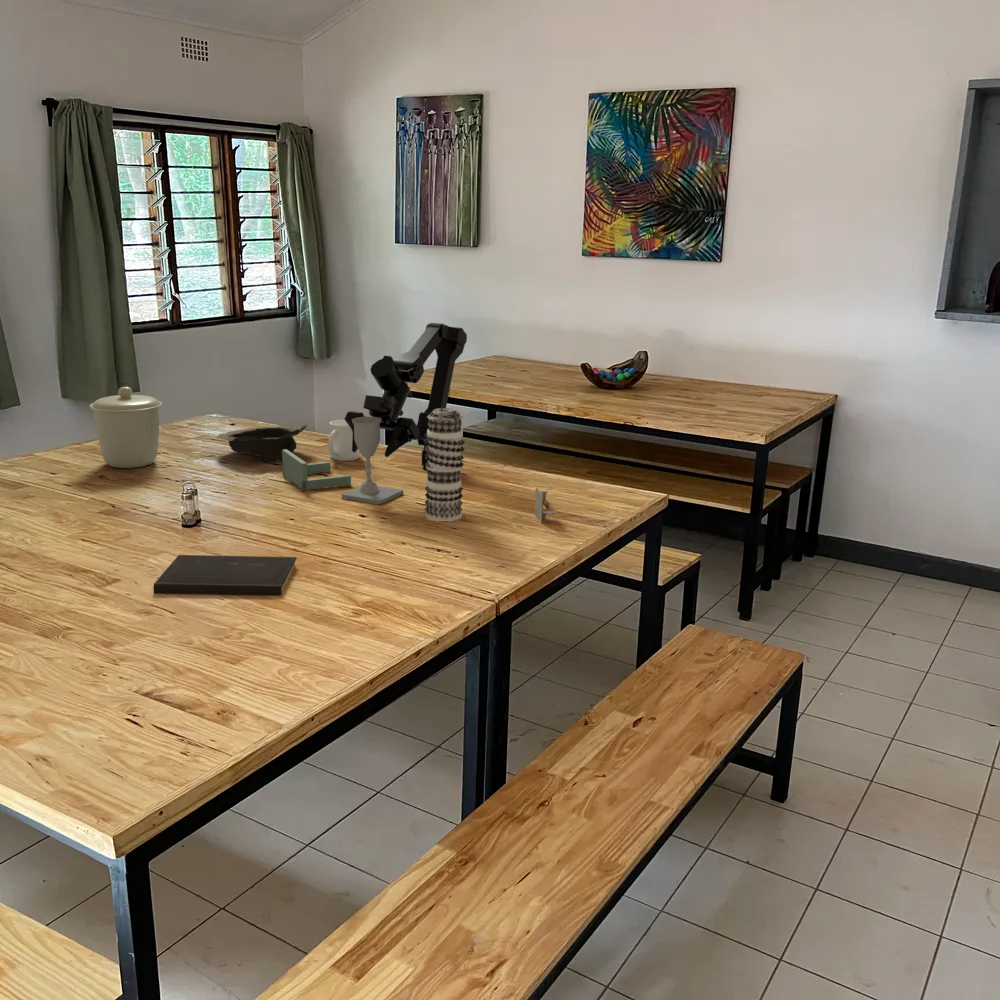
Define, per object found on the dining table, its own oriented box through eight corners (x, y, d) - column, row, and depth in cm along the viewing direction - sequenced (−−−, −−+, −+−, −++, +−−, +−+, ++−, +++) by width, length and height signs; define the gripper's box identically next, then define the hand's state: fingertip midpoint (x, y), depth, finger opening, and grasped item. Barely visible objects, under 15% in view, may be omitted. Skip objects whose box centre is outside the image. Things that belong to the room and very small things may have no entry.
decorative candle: (415, 515, 226) (415, 409, 219) (444, 508, 233) (445, 404, 226) (442, 524, 220) (444, 415, 213) (471, 516, 227) (473, 410, 220)
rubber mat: (365, 487, 248) (365, 484, 248) (403, 493, 244) (403, 489, 243) (341, 498, 238) (341, 494, 238) (380, 504, 234) (380, 500, 234)
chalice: (380, 485, 246) (378, 415, 240) (386, 493, 239) (384, 421, 234) (351, 488, 243) (348, 417, 238) (357, 496, 237) (354, 424, 231)
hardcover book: (179, 565, 192) (178, 554, 191) (296, 568, 193) (296, 557, 192) (153, 596, 177) (152, 584, 176) (281, 598, 177) (281, 587, 177)
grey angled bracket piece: (548, 517, 230) (550, 487, 228) (556, 526, 223) (557, 495, 221) (534, 518, 229) (535, 487, 227) (542, 527, 222) (543, 495, 220)
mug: (341, 465, 269) (341, 429, 266) (316, 462, 272) (315, 425, 269) (365, 456, 279) (365, 421, 276) (341, 453, 282) (340, 418, 279)
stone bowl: (298, 466, 266) (294, 433, 263) (207, 470, 266) (202, 437, 263) (316, 444, 289) (312, 414, 286) (232, 448, 290) (228, 418, 287)
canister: (140, 452, 276) (134, 378, 270) (180, 463, 266) (175, 386, 260) (81, 464, 262) (73, 386, 256) (121, 476, 252) (114, 395, 246)
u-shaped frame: (328, 470, 263) (328, 445, 261) (351, 485, 250) (350, 458, 248) (283, 475, 257) (282, 449, 255) (303, 490, 243) (302, 463, 241)
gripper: (347, 378, 240) (323, 430, 234) (414, 385, 233) (390, 439, 226) (365, 405, 249) (342, 455, 243) (429, 412, 242) (407, 465, 236)
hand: (369, 453), depth 237 cm, fingers open, 9 cm apart
